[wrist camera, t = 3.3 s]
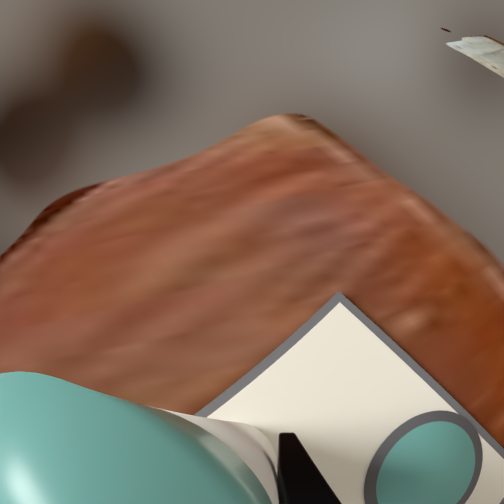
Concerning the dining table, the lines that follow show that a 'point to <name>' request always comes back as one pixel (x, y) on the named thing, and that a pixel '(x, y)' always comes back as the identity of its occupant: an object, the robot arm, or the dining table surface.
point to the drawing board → (366, 415)
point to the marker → (122, 450)
